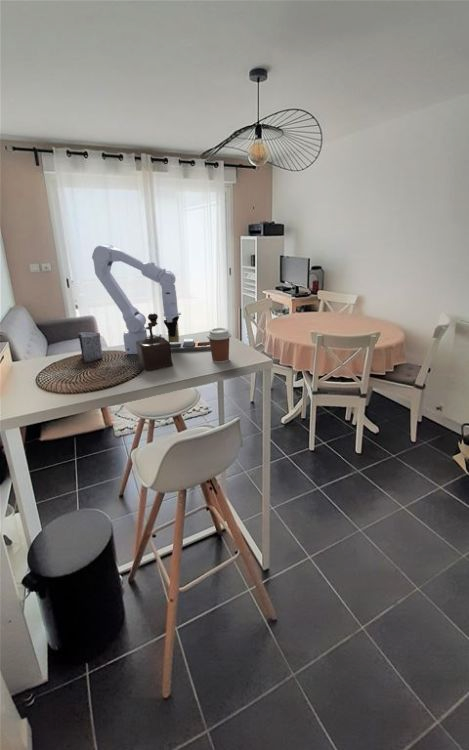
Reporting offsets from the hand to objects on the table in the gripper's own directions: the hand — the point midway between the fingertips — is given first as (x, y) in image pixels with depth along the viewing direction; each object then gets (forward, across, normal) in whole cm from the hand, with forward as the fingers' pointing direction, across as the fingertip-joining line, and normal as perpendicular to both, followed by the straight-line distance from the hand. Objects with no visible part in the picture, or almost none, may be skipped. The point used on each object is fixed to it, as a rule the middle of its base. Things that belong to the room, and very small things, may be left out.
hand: (173, 335), depth 151 cm
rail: (+6, 0, -6) cm, 9 cm away
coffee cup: (+6, -16, -19) cm, 26 cm away
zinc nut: (+6, 0, -6) cm, 9 cm away
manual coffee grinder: (+7, -15, +6) cm, 18 cm away
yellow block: (+3, 0, 0) cm, 3 cm away
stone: (+7, -6, +33) cm, 34 cm away
